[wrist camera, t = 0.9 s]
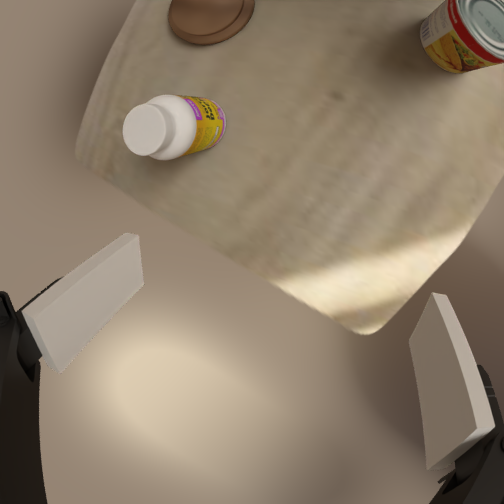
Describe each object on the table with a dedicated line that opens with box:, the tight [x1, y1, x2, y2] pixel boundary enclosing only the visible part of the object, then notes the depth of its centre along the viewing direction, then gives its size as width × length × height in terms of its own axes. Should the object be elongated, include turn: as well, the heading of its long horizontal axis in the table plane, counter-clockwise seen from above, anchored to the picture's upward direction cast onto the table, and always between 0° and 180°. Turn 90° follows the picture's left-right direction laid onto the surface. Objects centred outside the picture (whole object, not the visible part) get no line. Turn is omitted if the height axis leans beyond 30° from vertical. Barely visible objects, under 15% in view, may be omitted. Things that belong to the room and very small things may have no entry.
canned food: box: [420, 0, 504, 73], centre depth 16 cm, size 8×8×12 cm
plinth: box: [169, 0, 255, 45], centre depth 25 cm, size 11×11×2 cm
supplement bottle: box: [123, 95, 226, 160], centre depth 28 cm, size 7×7×13 cm
